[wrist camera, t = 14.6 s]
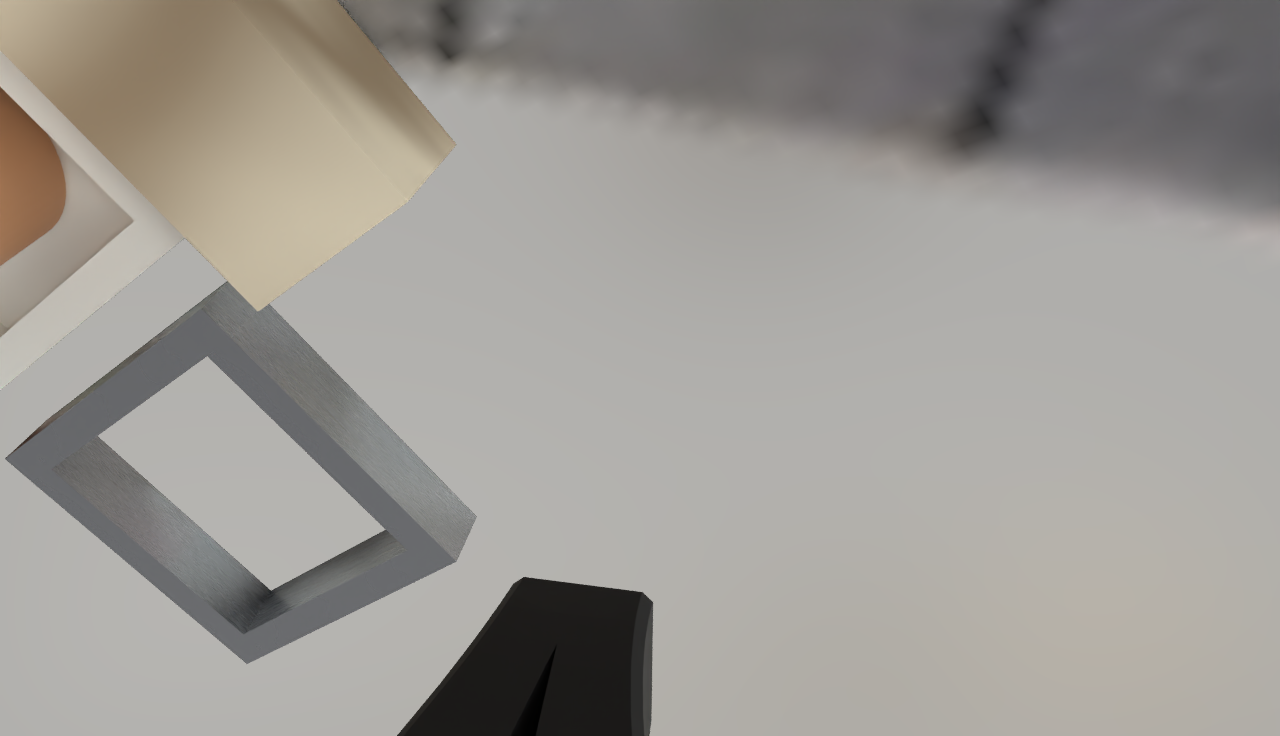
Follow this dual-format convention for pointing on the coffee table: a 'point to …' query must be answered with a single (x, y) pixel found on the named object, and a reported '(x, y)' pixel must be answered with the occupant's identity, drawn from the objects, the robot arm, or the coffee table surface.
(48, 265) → the tray
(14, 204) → the dowel
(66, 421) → the socket
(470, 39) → the coffee table surface
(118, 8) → the cream rectangular block
